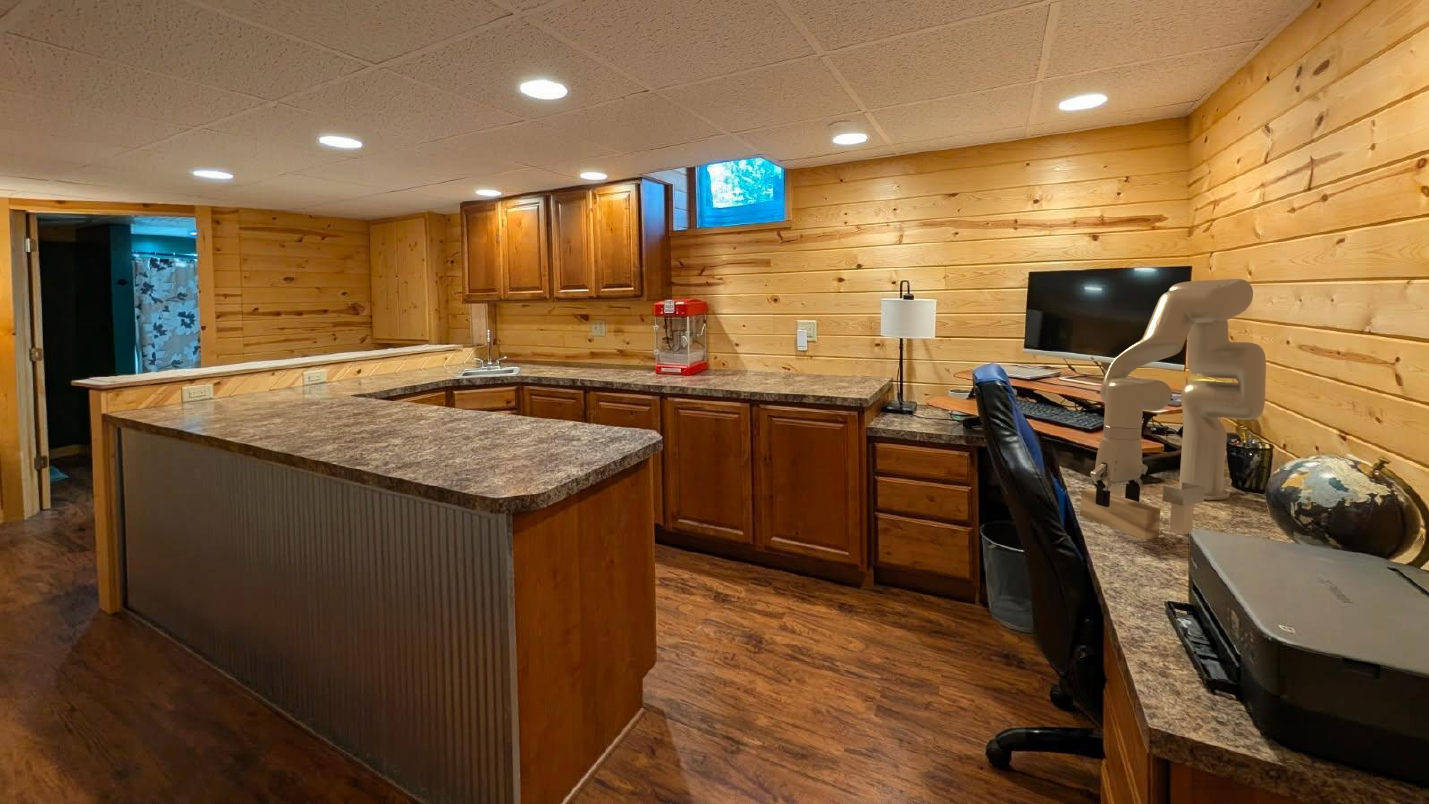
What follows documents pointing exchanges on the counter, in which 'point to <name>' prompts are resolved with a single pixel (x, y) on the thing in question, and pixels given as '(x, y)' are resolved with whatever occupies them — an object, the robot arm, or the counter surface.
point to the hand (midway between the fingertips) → (1117, 503)
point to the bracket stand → (1175, 503)
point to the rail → (1122, 514)
